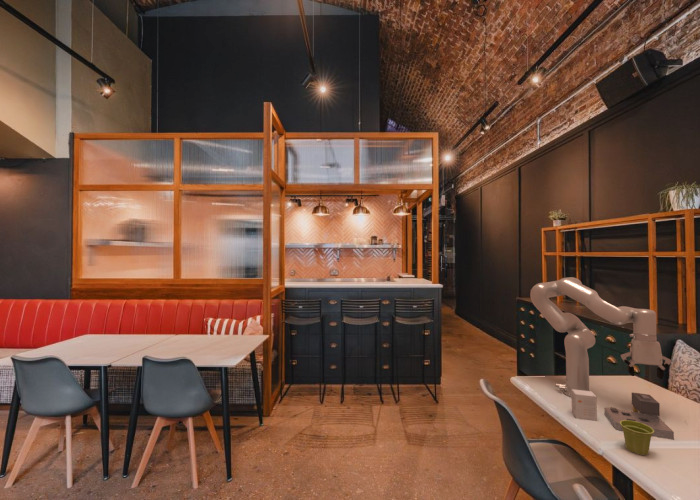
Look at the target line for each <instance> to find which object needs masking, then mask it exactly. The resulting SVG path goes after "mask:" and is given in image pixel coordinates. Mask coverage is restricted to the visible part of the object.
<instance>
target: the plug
mask: <svg viewBox="0 0 700 500" xmlns="http://www.w3.org/2000/svg"><path fill="white" fill-rule="evenodd" d="M660 404H661V403H660V402H658V400H656V399H655V398H654V397H653V396H652V395H651V394H646V393H639V392H631V405H632V412H639V413H645V414H652V415H657V416H658V417H660V414H661V413H660V412H661V411H660Z"/></svg>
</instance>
